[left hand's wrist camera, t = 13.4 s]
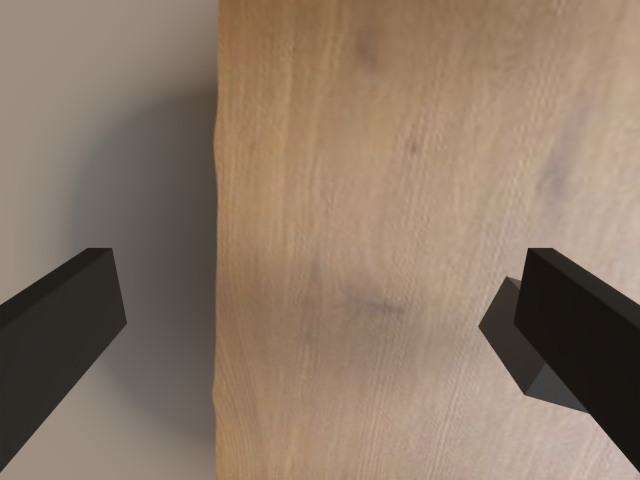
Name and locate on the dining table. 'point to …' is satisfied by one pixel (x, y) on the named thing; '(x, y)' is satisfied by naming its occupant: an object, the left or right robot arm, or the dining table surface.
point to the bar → (522, 351)
